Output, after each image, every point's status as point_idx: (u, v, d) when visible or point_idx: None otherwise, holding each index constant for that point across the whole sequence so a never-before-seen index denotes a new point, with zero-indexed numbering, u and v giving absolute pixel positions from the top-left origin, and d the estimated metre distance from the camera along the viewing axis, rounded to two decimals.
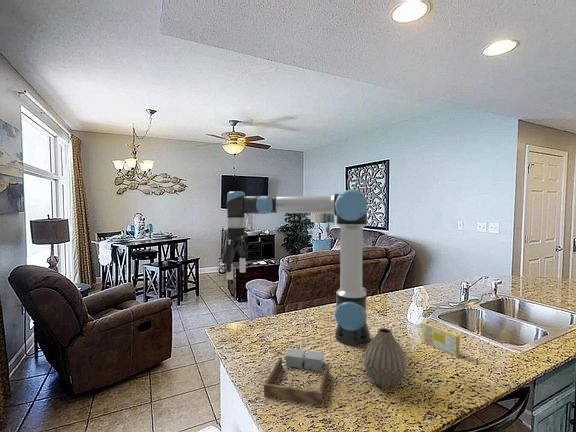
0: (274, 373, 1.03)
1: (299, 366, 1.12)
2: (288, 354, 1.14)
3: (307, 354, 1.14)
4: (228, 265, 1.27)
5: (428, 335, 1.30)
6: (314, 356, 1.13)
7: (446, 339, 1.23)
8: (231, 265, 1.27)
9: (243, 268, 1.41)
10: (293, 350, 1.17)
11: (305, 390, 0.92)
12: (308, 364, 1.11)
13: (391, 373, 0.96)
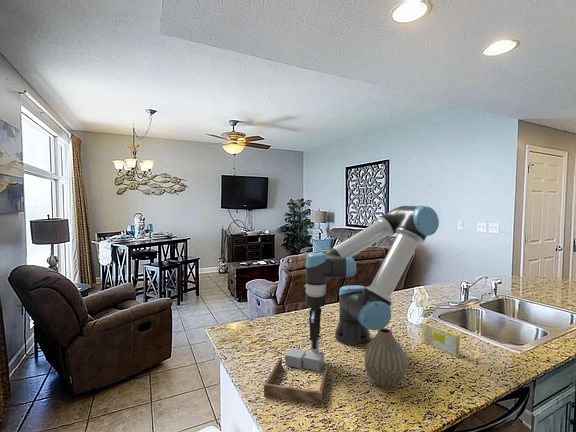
0: (274, 373, 1.03)
1: (298, 366, 1.12)
2: (288, 354, 1.14)
3: (307, 354, 1.14)
4: (314, 342, 1.15)
5: (428, 335, 1.30)
6: (314, 356, 1.13)
7: (446, 339, 1.23)
8: (317, 341, 1.16)
9: None
10: (294, 350, 1.17)
11: (305, 390, 0.92)
12: (307, 364, 1.11)
13: (391, 373, 0.96)
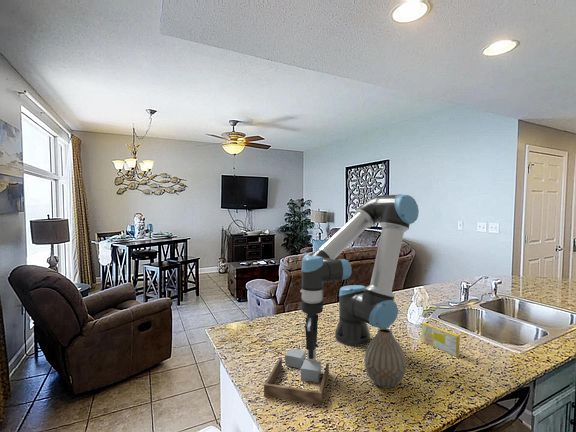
0: (274, 373, 1.03)
1: (298, 366, 1.12)
2: (288, 354, 1.14)
3: (304, 364, 1.07)
4: (311, 351, 1.08)
5: (428, 335, 1.30)
6: (311, 366, 1.05)
7: (446, 339, 1.23)
8: (314, 350, 1.09)
9: (313, 360, 1.10)
10: (294, 350, 1.17)
11: (305, 390, 0.92)
12: (304, 375, 1.04)
13: (391, 373, 0.96)
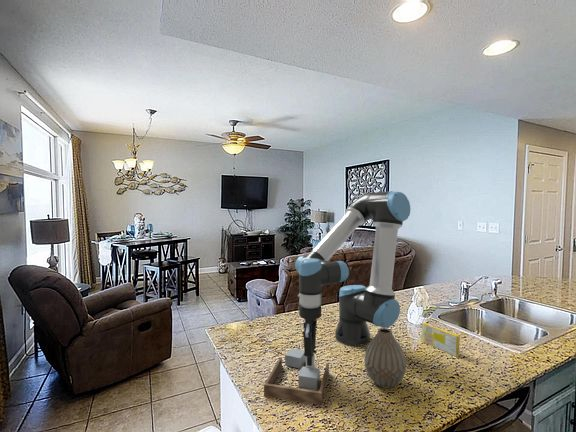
0: (274, 373, 1.03)
1: (297, 366, 1.12)
2: (288, 353, 1.14)
3: (301, 371, 1.02)
4: (309, 358, 1.04)
5: (428, 335, 1.30)
6: (309, 373, 1.01)
7: (446, 339, 1.23)
8: (312, 357, 1.05)
9: (311, 367, 1.06)
10: (294, 350, 1.17)
11: (305, 390, 0.92)
12: (302, 383, 1.00)
13: (391, 373, 0.96)
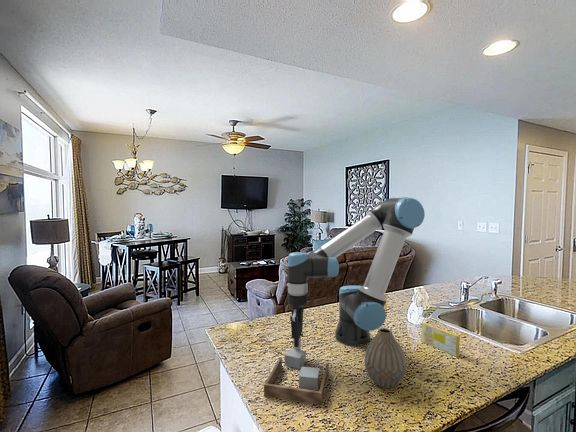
0: (274, 373, 1.03)
1: (297, 366, 1.11)
2: (287, 353, 1.14)
3: (301, 371, 1.02)
4: (296, 340, 1.17)
5: (428, 335, 1.30)
6: (309, 373, 1.01)
7: (446, 339, 1.23)
8: (299, 339, 1.18)
9: None
10: (294, 350, 1.17)
11: (305, 390, 0.92)
12: (303, 383, 0.99)
13: (391, 373, 0.96)
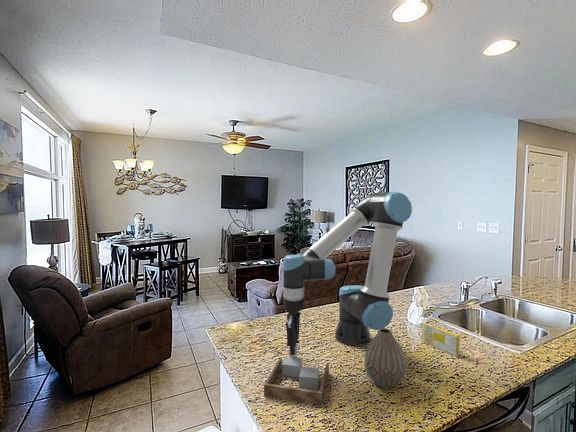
0: (274, 373, 1.03)
1: (296, 375, 1.06)
2: (284, 362, 1.08)
3: (301, 371, 1.02)
4: (292, 347, 1.11)
5: (428, 335, 1.30)
6: (310, 373, 1.01)
7: (446, 339, 1.23)
8: (295, 347, 1.12)
9: None
10: (290, 358, 1.11)
11: (305, 390, 0.92)
12: (303, 383, 0.99)
13: (391, 373, 0.96)
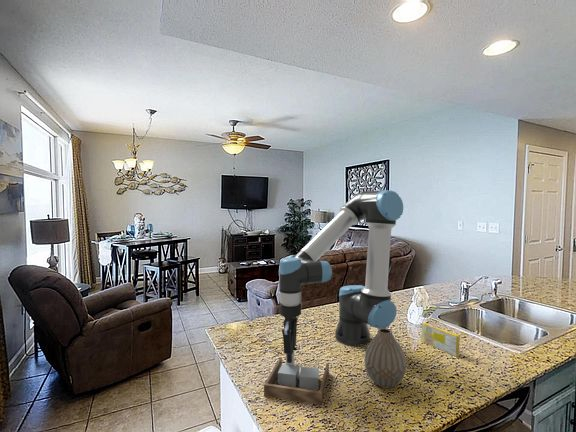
0: (274, 373, 1.03)
1: (293, 384, 1.00)
2: (280, 371, 1.03)
3: (301, 371, 1.02)
4: (289, 355, 1.05)
5: (428, 335, 1.30)
6: (310, 373, 1.01)
7: (446, 339, 1.23)
8: (292, 354, 1.06)
9: (291, 364, 1.07)
10: (286, 366, 1.06)
11: (305, 390, 0.92)
12: (303, 383, 0.99)
13: (391, 373, 0.96)
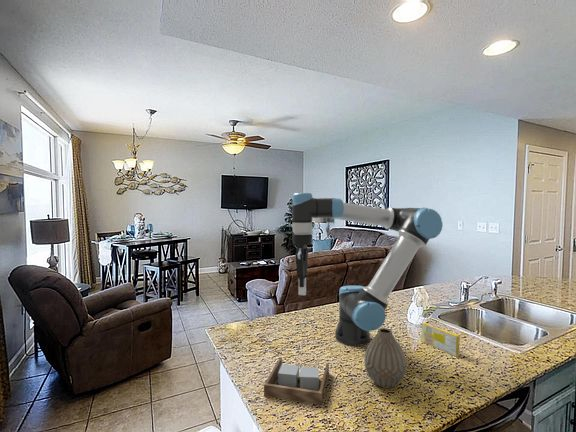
0: (274, 373, 1.03)
1: (293, 384, 1.00)
2: (281, 371, 1.02)
3: (301, 372, 1.02)
4: (301, 280, 1.17)
5: (428, 335, 1.30)
6: (310, 373, 1.01)
7: (446, 339, 1.23)
8: (304, 280, 1.18)
9: None
10: (286, 366, 1.06)
11: (305, 390, 0.92)
12: (304, 383, 0.99)
13: (391, 373, 0.96)
